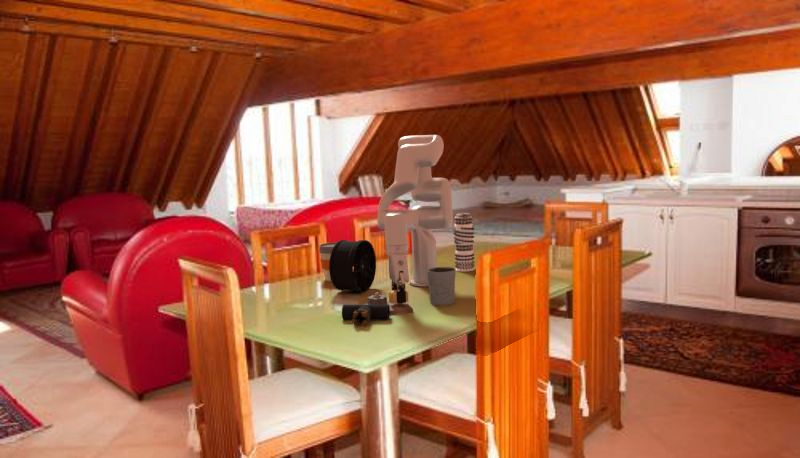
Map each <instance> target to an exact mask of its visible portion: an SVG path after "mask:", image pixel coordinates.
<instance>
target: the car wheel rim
mask: <svg viewBox="0 0 800 458" xmlns="http://www.w3.org/2000/svg"><path fill="white" fill-rule="evenodd" d="M335 243H336V242H335ZM329 272H330V278H331V281H330V282H331V284H332V286H333V287H334V288H335V289H337V290H338V291H346V290H349V291H351V290H352V291H356V292H362V293H365V292H367V291H369V290H370V289H371V287H372V286H373V283H374V280H375V278H376V277H375V276H376V273H377V256H376V252H375V249H374V246H373V245H372V243H371V242H370V241H369V240H367V239H366V240H365V239H359V240H356V241H353V240H347V239H340V240H338V241H337V243H336V244H335V246H334V247H333V249H332V252H331V256H330V262H329Z"/></svg>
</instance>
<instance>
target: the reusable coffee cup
mask: <svg viewBox="0 0 800 458" xmlns="http://www.w3.org/2000/svg"><path fill="white" fill-rule="evenodd" d="M337 242H338V241H337ZM337 242H328V243H321V244H319V248H318V249H319V250H318V252H319V256H320V258H319V260H320V266H321V269H322V270H323V276H324V280H325V281H326V282H332V281H331V278H330V272H329V262H330V256H331V252H332V249H333V247H334V246H335V244H336V243H337Z"/></svg>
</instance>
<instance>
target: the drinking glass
mask: <svg viewBox="0 0 800 458" xmlns="http://www.w3.org/2000/svg"><path fill="white" fill-rule="evenodd" d="M427 275H428V282H429V286H428V287H429V288H428V290H429V299H430V304H431V305H433V304H434V306H438V305H445V306H451V305H453V303H454V304H455V301H456V298H455V297H456V295H455V293H456V292H455V289H456V287H455V285H456V267H455V268H454V267H450V266H439V267H438V266H437V267H435V268H430V269H428V270H427ZM450 304H451V305H450Z"/></svg>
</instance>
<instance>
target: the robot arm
mask: <svg viewBox="0 0 800 458" xmlns="http://www.w3.org/2000/svg"><path fill="white" fill-rule="evenodd" d="M444 144H445V143H444V140H443V138H442V137H441V136H440V134H439V135H438V134H425V135H424V134H417V135H406V136H402V137H400V138H399V139H398V143H397V145H398V150H397V155H396V161H395V171H394V181H393V183H392V184H391V185H390V186H389V187H388V188H387V189H386V190H385V191H384V193H383V194H382V196H381V198H380V200H379V202H378V209H377V220H376V221H377V223H376V224H377V226H378V228H379V230H381V231H382V232H384V236H385V237H384V239H385V254H386V255H387V256H388V275H389V279H390V281H391V285H390V286H391V291H392V290H397V292H396V295H397V303H407V302H406V290H407V289H406V284H407V283H409V284H410V286H413V287H429V282H428V275H427V270H428V269H430V268H435V267H438V266H437V265H438V264H437V242H436V237H435V236H434V234H433V233H432V232H431V230H448V229H450V228H451V227H452V225H453V220H454V219H453V218H454V217H453V216H454V215H453V212H454V210H453V193H452V186H451V183H450V180H448V178H445V177H433V176H432V167H434V166H436V165H437V164H438V161H439V160H440V158H441V157H442V155H443V153H444V146H445V145H444ZM409 193H410V195H411V198H412V200H413V201H415V202H417V203H438V204H437V205H435V204H434V205H431V204H427V205H425V204H424V205H423V204H419V205H415V206H413V207H411V208H410V209H390V206H391V204H393V202H394V201H395V200H396V199H398V198H400V197H402V196H403V195H407V194H409ZM408 232H411V248H412V273H413V274H412V275H413V278H412V279H410V278H409V277H410V276H409V265H408V259H407V257H408V256H407V254H409V249H408V247H409V245H408Z"/></svg>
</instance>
